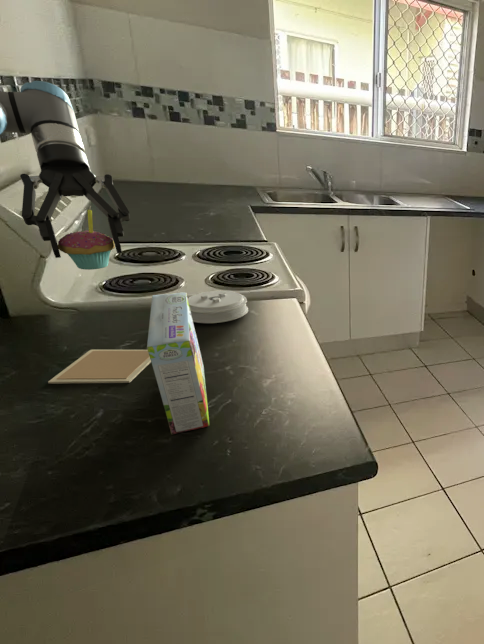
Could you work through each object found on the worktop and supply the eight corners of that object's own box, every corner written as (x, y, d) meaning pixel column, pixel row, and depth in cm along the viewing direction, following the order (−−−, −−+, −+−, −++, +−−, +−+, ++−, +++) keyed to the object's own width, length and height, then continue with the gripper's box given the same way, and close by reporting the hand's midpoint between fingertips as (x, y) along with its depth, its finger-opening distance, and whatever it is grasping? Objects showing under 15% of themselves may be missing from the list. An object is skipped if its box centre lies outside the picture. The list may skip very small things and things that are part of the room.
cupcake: (118, 258, 101) (103, 201, 96) (121, 270, 95) (106, 209, 90) (64, 263, 96) (45, 202, 91) (64, 275, 90) (45, 211, 85)
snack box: (168, 371, 86) (150, 294, 80) (204, 366, 89) (189, 290, 83) (168, 436, 70) (144, 346, 64) (212, 427, 73) (193, 339, 67)
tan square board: (48, 383, 79) (47, 381, 79) (91, 351, 90) (90, 348, 90) (129, 382, 82) (129, 380, 82) (162, 351, 92) (161, 349, 92)
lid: (180, 311, 110) (176, 291, 107) (241, 302, 117) (238, 283, 115) (191, 331, 101) (186, 309, 99) (255, 320, 109) (252, 300, 107)
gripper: (129, 167, 105) (156, 256, 101) (-8, 165, 92) (17, 267, 88) (126, 144, 99) (154, 237, 96) (-21, 138, 86) (6, 246, 82)
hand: (88, 251), depth 92 cm, fingers closed on cupcake, 8 cm apart
